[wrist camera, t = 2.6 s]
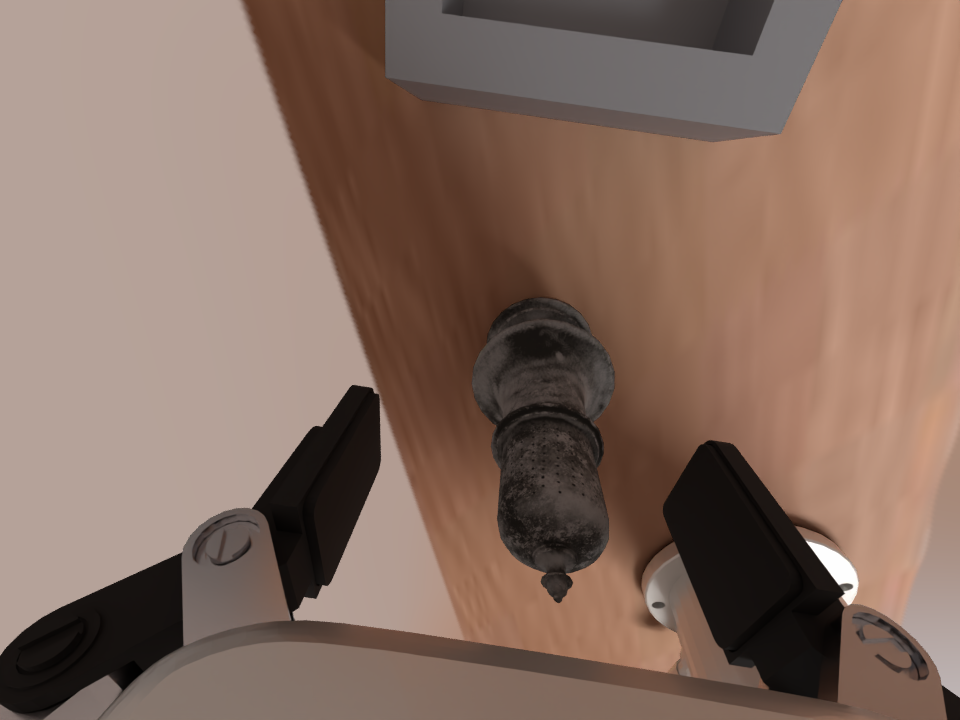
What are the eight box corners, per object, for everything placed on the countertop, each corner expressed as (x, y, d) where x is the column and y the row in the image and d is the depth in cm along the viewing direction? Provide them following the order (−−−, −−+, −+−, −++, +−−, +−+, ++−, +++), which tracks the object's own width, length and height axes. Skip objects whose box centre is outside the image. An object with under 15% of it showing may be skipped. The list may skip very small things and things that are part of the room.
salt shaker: (534, 414, 20) (545, 688, 10) (457, 345, 18) (368, 582, 8) (624, 350, 18) (770, 623, 7) (543, 264, 16) (578, 453, 6)
